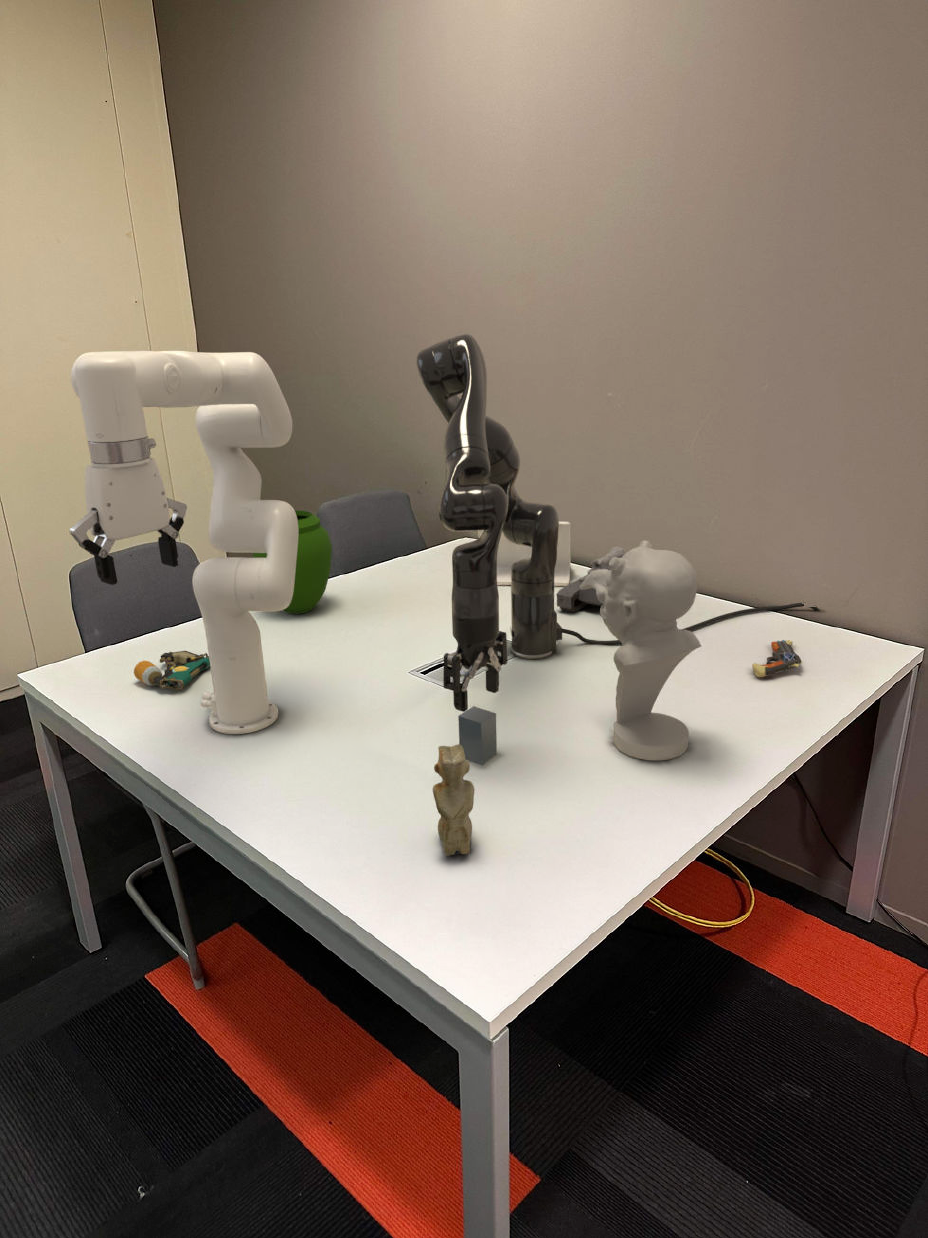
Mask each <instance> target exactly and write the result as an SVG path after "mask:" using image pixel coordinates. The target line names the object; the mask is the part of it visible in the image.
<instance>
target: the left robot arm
mask: <svg viewBox="0 0 928 1238" xmlns="http://www.w3.org/2000/svg"><path fill="white" fill-rule="evenodd" d="M70 382H71V387H72V389H73V392H74V393H75V395H76V396H77V397H78V399H79V402H80V407H81V414H82V419H83V424H84V429H85V430H84V431H85V436H86V441H87V446H88V453H89V456H90V462H91V464H88V465H86V466H85V474H84V495H85V497H84V498H85V506H86V507H85V508H86V514H85V515H84V516H83V517H82V518H80V519H79V520H78V521H77V522H76V523H75V524H74V525H73V526H71V527H70V528H69V534H70V536H72V538H73V539H74V541H76V543H78V545H79V547H80V548H82V549H83V550H85V551H86V552H88V553H89V554H90V555H91V556H93V559H94V563H95V569H96V573H97V577H98V579H100V582H102V583H104V584H108V585H111V586H114V585H117V583H118V578H117V572H116V566H115V561H114V557H113V556H112V555H109V554H110V551H111V550H112V547H113V546H114V544H115V542H116V541H121V540H124V539H129V538H133V537H137V536H142V535H146V534H149V533H153V532H157V533H158V534H159V535H160V536H158V538H157V542H158V549H159V555H160V561H161V564H162V565H164V566H165V565H166V566H169V567H173V568H176V567H178V566H179V561H178V558H179V553H178V546H177V541H176V540H177V539H178V538H179V537H180V536H179V535H180V534H179V532H180V530H181V528H182V527H183V526H184V524H185V520H184V519H185V517H186V513H187V509H188V506H187V504H186V503H183V502H182V501H181V502H180V501H177V500H175V499H171V498H169V497H167V494H166V489H165V484H164V482H163V477H162V475H161V472H160V469H159V467H158V465H157V462H156V459H155V458H154V457H151V455H152V453H151V450H152V449H155V448H156V447H157V443H156V442H157V441H156V440H155V439H154V438H149V436H148V433H147V426H146V419H145V414H144V408H164V409H167V408H168V409H169V408H171V409H172V408H191V407H197V410H196V412H195V426H196V431H197V434H198V437H199V440H200V442H201V444H202V447H203V449H204V451H205V453H206V455H207V458H208V461H209V463H210V466H211V469H212V474H213V475H212V476H213V484H212V492H211V493H212V494H211V502H210V511H209V512H210V513H209V518H208V519H209V520H208V539H209V542H210V544H211V546H212V547H213V548H214V549H216V550H218V551H219V552H223V553H224V552H225V553H235V554H236V553H237V554H239V553H240V554H243V553H244V554H246V553H247V554H250V553H251V554H253V553H267V557H266V558H254V557H245V556H243V557H242V556H230V557H229V556H226V557H225V556H222V557H221V556H220V557H213V558H208V559H206V560H204V561H201V562H200V563H199V564H198V565H197V566H196V567H195V569H194V571H193V573H192V583H191V584H192V590H193V593H194V594H193V595H194V597H195V599H196V603H197V606H198V608H199V611H200V615H201V618H202V622H203V627H204V632H205V638H206V644H207V645H206V646H207V652H208V653H207V654H208V656H209V660H210V666H209V667H210V673H211V681H212V686H213V692H212V691H204V692H203V694H202V699H201V701H200V706H201V707H203V708H210V709H211V714H210V716H209V719H208V720H209V725H210V727H211V728H212V729H213V730H214V731H216V732H218V733H221V734H225V735H244V734H249V733H254V732H257V731H260V730H263V729H265V728H267V727H269V726H271V725H273V723H275V721H276V720H277V719H278V717H279V709H278V707H277V705H276V704H275V703H273V702H271V701H269V695H268V686H267V679H266V671H265V662H264V654H263V645H262V635H261V630H260V627H259V624H258V623H257V621H256V619H255V618H254V616H253V615H252V614H251V613H250V612H281V611H282V610H284V609H285V608H287V607H288V606H289V604H290V602H291V600H292V596H293V591H294V582H295V571H296V560H297V548H298V533H299V530H298V520H297V516H296V513H295V511H296V510H295V509H294V507H293V506H292V505H291V504H290V503H288V502H287V501H284V500H278V499H261V495H262V485H263V483H262V482H263V481H262V475H261V473H260V471H259V470H258V468H257V466H256V465H255V464H254V462H253V461H252V460H251V459H250V457H248V455H247V454H246V453H245V452H244V451H243V450H242V449H258V448H259V449H262V448H263V449H265V448H266V449H267V448H269V449H270V448H271V449H272V448H280V447H282V446H284V445H287V443H288V442H289V441H290V439H291V438H292V434H293V418H292V414H291V410H290V408H289V405H288V404H287V401H286V398H285V396H284V394H283V391H282V390H281V387H280V384H279V383H278V380H277V378H276V376H275V373H274V372H273V370H272V369H271V367H270V365H269V364H268V362H267V361H266V360H265V359H264V358H263V357H262V356H261V355H260V354H258V353H256V352H252V351H241V352H240V351H239V352H233V351H231V352H204V351H203V352H201V351H188V350H159V351H154V350H116V351H115V350H114V351H113V350H111V351H108V350H107V351H90V352H85V353H83V354H81V355H79V356H78V357H77V358H76V359H75V361H74V362H73V364H72V366H71V371H70ZM170 510H172V516H171V515H170ZM170 516H171V517H170ZM88 531H90V534H91V535H92V536H94V539H93V540H91V539H90V538H89V536H88V534H87V532H88Z"/></svg>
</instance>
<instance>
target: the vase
mask: <svg viewBox="0 0 928 1238" xmlns="http://www.w3.org/2000/svg"><path fill="white" fill-rule="evenodd" d="M295 513H296V516H297V520H298V530H299V533H298V548H297V560H296V571H295V582H294V591H293V596H292V600H291V602H290V604H289V606H288V607H287V608H285V609H284V610H281V611H282V612H284V613H287V614H290V615H291V614H292V615H299V614H306V613H308V612H311V611H312V610H314V609H315V608H316V607H317V606H318V605H319V603H320V601H321V600H322V598H323V596H324V593H325V592H326V589H327V585H328V581H329V578H330V574H331V568H332V554H333V544H332V541H331V538H330V535H329V532H328V531H327V530H326V528H325V527H323V526H322V525H321V518H320V517H318V516H316V515H314V514H313V513H312V512H310V511H307V510H295ZM252 556H253V558H266V557H267V553H252Z"/></svg>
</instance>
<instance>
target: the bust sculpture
mask: <svg viewBox="0 0 928 1238" xmlns="http://www.w3.org/2000/svg"><path fill="white" fill-rule="evenodd" d="M609 569H610V570H606V569H600V570H595V571H593V572H591V573H590V574H589V575H588V576H587V577H586V579H585V580H584V581H583V583H582V584H581V585H580V587H579V588H580V590H585V589H590V588H594V589H596V595H597V598H598V600H599V601H600V602H601V603H603V605H602V606H600V610H599V614H600V617H601V618H602V620H603V623H604V625H605V626H606V627H607V629H608V631H609V632H610V634H611V635H612V636H614V637H615V638H616V640H619V641H620V642H622V644H621V646H620V647H619V648H617V649H616V651H615V652H614V654H613V662H614V666H615V668H616V670H617V671H618V673H619V674H618V678H617V682H616V688H615V693H616V694H615V710H616V721H615V722H614V724H613V732H612V733H613V734H612V741H613V742H612V743H613V745H614V746H615V748H617V750H619V751H620V752H622V753H623V754H625V755H627V756H630V757H631V758H634V759H635V758H636V759H639V760H646V761H666V760H671V759H675V758H678V757H680V756H682V755H683V754H684V753H686V751H687V749H688V747H689V735H690V733H689V732H690V731H689V728H688V726H687V725H686V724H685V723H684V722H683V721H681V720H680V719H678V718H676V717H673V716H671V715H667V714H664V713H660V712H652V711H653V708H654V706H655V703H656V701H657V699H658V697H659V694H660V693H661V691H662V689H663V688H664V686H665V684H666V682H667V681H668V679H669V678H670V676H671V675H672V673H673V672H674V671H675V669H676V668H677V666H678V665H679V664H680V663H681V662H682V661H683V660H684V659H685V658H686V657H687V656H688V655H690V654H691V653H692V652H694V651H695V650H697V649H699V648H702V644H701V642H700V641H699V640H700V639H698V637H697V636H696V634H695V633H694V632H693V631H692V630H691V631H688V630H683V629H684V628H682V629H680V628H678V621H677V620H679V619H680V618H682V617H683V616H685V615H686V614H687V613H688V612H689V611H690V610H691V608H692V607H693V605H694V603H695V600H696V597H697V592H698V576H697V573H696V571H695V568H694V567H693V565H692V564H691V562H690V561H689V560H688V559H686V558H685V556H684V555H683V554H681V553H678V552H676V551H672V550H666V549H655V548H653V546H652V543H651V542H650V541H649V540H640V543H639V546H637V547H633V548H632V549H630V550H629V551H627V552H625V555H624V556H623V557H622V558H617V557H614V558H612V559H611V560H610V562H609Z"/></svg>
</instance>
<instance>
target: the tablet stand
mask: <svg viewBox="0 0 928 1238" xmlns="http://www.w3.org/2000/svg"><path fill="white" fill-rule="evenodd" d="M483 532H484V530H477V537H478V538H480V536H481V535H482V534H483ZM478 538H477V539H478ZM531 554H532V547H528V546H522V545H516V544H514V543H511V542H510V541H508V540H507V539H506V537H505V536H504V534H503V532H502V533H501V537H500V541H499V546H498V553H497V586H511V567H512V565H513V563H515V562H516V561H519V560H522V559H526V558H531ZM571 560H572V558H571V522H569V521H559V533H558V547H557V562H556V566H555V571H554V587H556V586H557V587H566V586H567V585H569V584H570V580H571V579H570V578H571V565H572V564H571Z"/></svg>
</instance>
